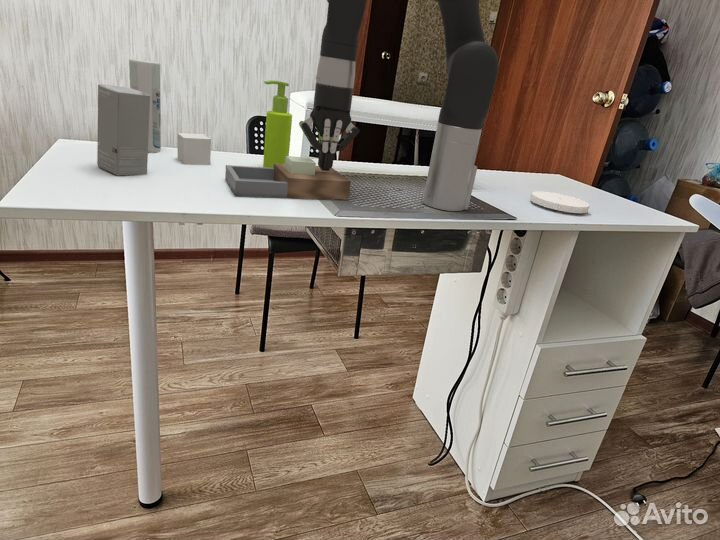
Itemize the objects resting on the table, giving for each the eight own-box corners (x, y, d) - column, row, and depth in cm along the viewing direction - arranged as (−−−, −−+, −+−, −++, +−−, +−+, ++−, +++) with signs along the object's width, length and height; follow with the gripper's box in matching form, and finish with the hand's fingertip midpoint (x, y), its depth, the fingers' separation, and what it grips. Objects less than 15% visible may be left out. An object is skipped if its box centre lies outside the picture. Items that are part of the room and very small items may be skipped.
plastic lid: (517, 199, 129) (520, 190, 128) (559, 201, 135) (562, 192, 134) (554, 216, 118) (558, 206, 117) (599, 217, 123) (602, 208, 122)
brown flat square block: (328, 184, 114) (330, 166, 113) (348, 200, 103) (350, 181, 102) (272, 181, 109) (273, 163, 108) (286, 198, 98) (288, 178, 97)
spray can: (132, 146, 122) (129, 58, 115) (161, 148, 125) (160, 62, 117) (131, 151, 117) (128, 59, 109) (161, 153, 119) (160, 63, 112)
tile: (307, 169, 107) (309, 157, 106) (314, 174, 103) (315, 162, 102) (284, 167, 105) (285, 155, 104) (290, 173, 101) (291, 161, 100)
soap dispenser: (256, 165, 122) (261, 78, 114) (283, 166, 125) (290, 82, 117) (262, 171, 117) (268, 80, 109) (290, 172, 120) (298, 84, 112)
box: (272, 181, 109) (273, 167, 108) (286, 198, 98) (288, 183, 97) (225, 179, 105) (225, 165, 104) (234, 196, 94) (235, 180, 93)
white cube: (210, 165, 116) (211, 139, 113) (183, 165, 113) (183, 137, 110) (203, 159, 120) (203, 134, 118) (177, 158, 117) (177, 132, 115)
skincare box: (96, 167, 100) (91, 83, 94) (131, 165, 105) (128, 85, 99) (117, 177, 95) (113, 89, 89) (152, 174, 101) (151, 92, 95)
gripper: (308, 80, 94) (299, 172, 100) (372, 89, 99) (360, 176, 105) (297, 77, 100) (289, 164, 106) (358, 85, 105) (347, 167, 112)
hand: (324, 169), depth 106 cm, fingers closed
